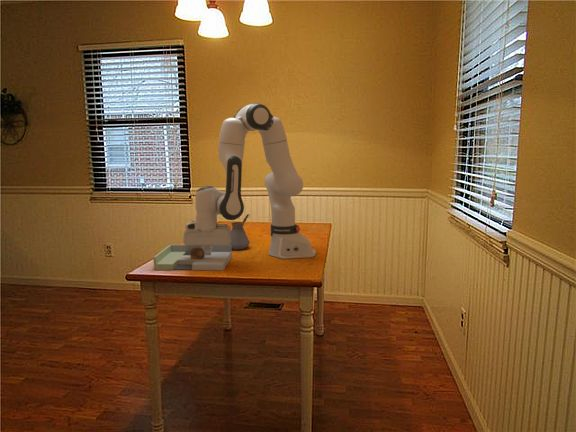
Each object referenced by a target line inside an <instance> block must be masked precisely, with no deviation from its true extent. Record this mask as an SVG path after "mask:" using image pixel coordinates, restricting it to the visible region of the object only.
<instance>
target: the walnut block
mask: <svg viewBox="0 0 576 432" xmlns="http://www.w3.org/2000/svg"><path fill="white" fill-rule="evenodd" d="M190 254H191V259H203V258H204V257H205V255H204V251H203V249H202V248H201V247H193V248H192V249H191V250H190Z"/></svg>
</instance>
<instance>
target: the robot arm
mask: <svg viewBox="0 0 576 432" xmlns="http://www.w3.org/2000/svg"><path fill="white" fill-rule="evenodd" d="M221 124H222V125H221V128H220V132H219V135H218V137H219V138H218V149H217V153H218V159H219V161H220V162H221V164H222V166H223V168H224V170H225V191H222V190H219V189H217V188H215V187H214V186H213V185H208V186H202V187H200V188H198V189H197V190H196V192H195V200H194V201H195V206H194V207H195V210H196V214H195V220H192V221H189V222H187V223H186V224H185V227H184V228H185V230H184V232H183V245H194V246H201V248H202V249H203V251H204V255H211V251H212V249H213V247H214V246H228V245H229V244H230V243H231V237H230V233H231V230H232V228H231V227H232V226H230V225H228V224H227V223H224V224H222V223H218V215H221V216H222V217H223V218H224V219H226V220H228V221H235V220H237V219H239V218H240V217H241V216H242V214H243V213H244V209H245V205H244V202H243V198H242V175H243V174H242V171H243V169H242V168H243V159H244V153H245V152H244V151H245V145H246V137H247V134H248V132H249V131H251V132H252V131H253V132H254V131H257V132H258V133H259V135H260V137H261V140H262V141H261V142H262V147H263V152H264V156H265V160H266V163H267V164H268V165H269V166H268V167H270V170H271V172H269V173H267V174H266V176H265V178H264V186H265V189H266V191H267V195H268V199H269V203H270V210H271V214H270V215H271V224H270V230H269V231H270V236H271V238H270V245H269V251H268V255H269V256H271V257H274V258H275V257H276V258H279V259H281V260H283V259H284V260H286V259H287V260H288V259H303V258H304V259H306V258H314V257H316V255H317V254H316V249H314V248H313V247H312V245H311V241H310V239H309V238H307V236H305V235H304V234H302V233H301V227H300V225H299V224H296V208H295V206H294V203H293V201H292V198H291V197H294V196H295V197H296V196H298V195H299V194H301V193H302V191H303V188H304V181H303V179H302V177H301V176H300V175H299V174H298V172H297V170H296V166H295V164H294V163H293V161H292V160H293V159H292V157H291V152H290V149H289V144H288V138H287V135H286V131H285V127H284V124H283V122H282V119H280V118H279V117H277V116H273V114H272V113H271V111H270V109H269V108H268V107H267V106H266V105H265V104H261V103H258V102H257V103H250V104H247V105H245V106H243V107H240V108H239V109H238V110H237V111H236V113H235V115H234V116H233V117H227V118H226V119H224V120H223V122H222V123H221ZM206 246H210V248H211V249H210V251H207V250H206V249H205V247H206Z"/></svg>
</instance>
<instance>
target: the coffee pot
mask: <svg viewBox="0 0 576 432" xmlns="http://www.w3.org/2000/svg"><path fill="white" fill-rule="evenodd" d="M248 218H251V215H250V214H249V213H248V214H246V215H245V217H244V218H243V220H242V221H235V222H231V223H230V225H232V226H231V227H232V228H231V233H230V237H231V243H230V244H229V245H231V249H232V251H233V250H234V251H239V250H241V251H242V250H245V249H247V248H248V246H249V245H250V240H249V238H248V235H247V233H246V231H245V229H244V225H245V222H246V221H247V219H248Z"/></svg>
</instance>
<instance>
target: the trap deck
mask: <svg viewBox="0 0 576 432" xmlns="http://www.w3.org/2000/svg"><path fill="white" fill-rule="evenodd" d="M193 247H201V246H194V245H185V244H169V245H167V246H166V247H165V248H163V249H162V250H161V251H159V252H158V253H157V254H155V255H154V256H153V257H152V259H153V260H152V261H153V271H224V270H225V269H226V266H227V265H228V264H229V261H230V260H231V258H232V256H233V255H232V254H233V253H232V251H233V250H232V249H231V245H228V246H214V247H213V249H212V251H211V255H205V257H204V258H203V259H191V254H190V250H191V249H192V248H193ZM205 249H206V250H207V251H210V249H211V248H210V246H206V247H205Z"/></svg>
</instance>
